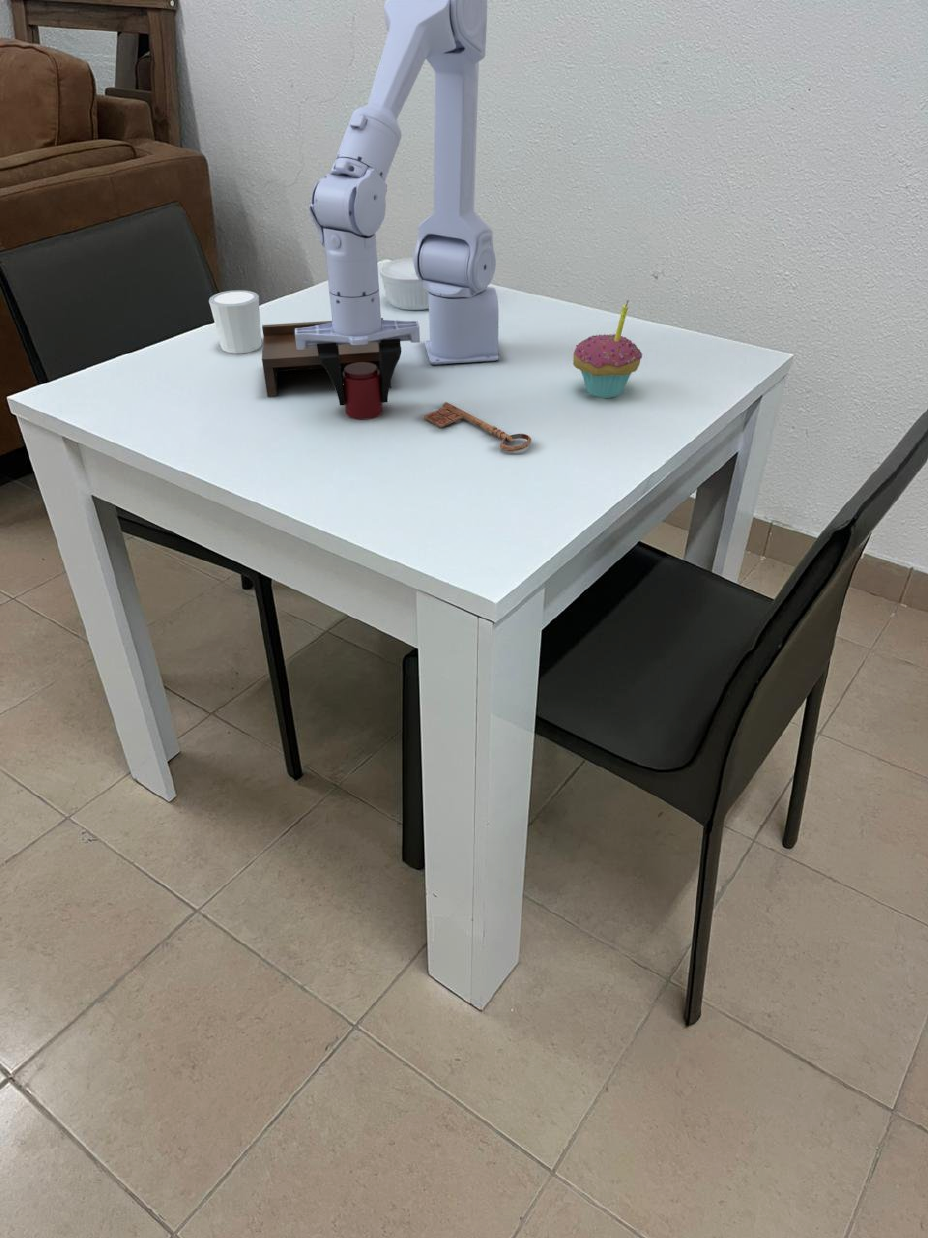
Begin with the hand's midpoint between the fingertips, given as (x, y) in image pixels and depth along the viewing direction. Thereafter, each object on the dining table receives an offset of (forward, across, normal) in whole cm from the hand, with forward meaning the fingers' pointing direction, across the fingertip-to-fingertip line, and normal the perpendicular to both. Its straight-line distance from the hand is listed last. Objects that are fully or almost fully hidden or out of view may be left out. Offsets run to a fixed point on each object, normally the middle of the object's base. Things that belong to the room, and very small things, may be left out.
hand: (363, 400), depth 114 cm
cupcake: (+2, +31, +1) cm, 31 cm away
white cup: (+2, -16, +25) cm, 30 cm away
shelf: (+1, -4, +11) cm, 12 cm away
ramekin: (+2, +11, +40) cm, 42 cm away
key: (+2, +13, -8) cm, 15 cm away
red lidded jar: (+1, 0, 0) cm, 1 cm away
